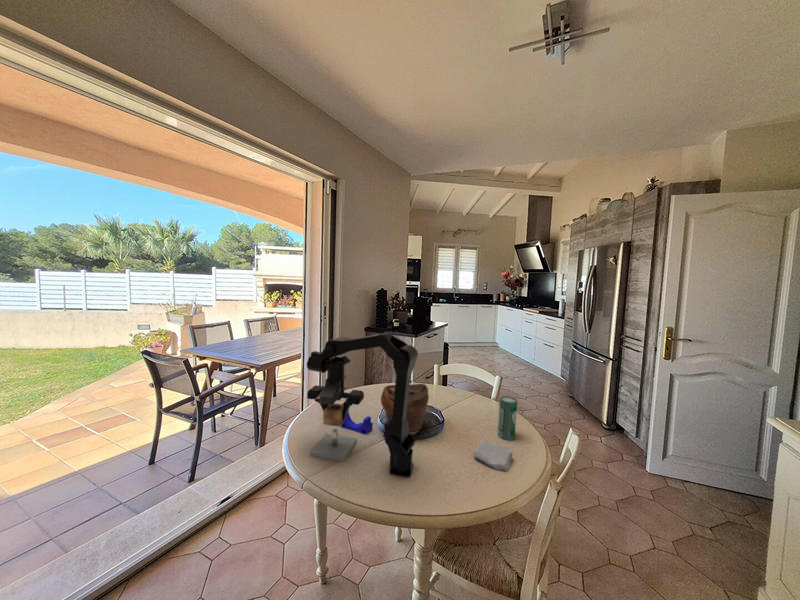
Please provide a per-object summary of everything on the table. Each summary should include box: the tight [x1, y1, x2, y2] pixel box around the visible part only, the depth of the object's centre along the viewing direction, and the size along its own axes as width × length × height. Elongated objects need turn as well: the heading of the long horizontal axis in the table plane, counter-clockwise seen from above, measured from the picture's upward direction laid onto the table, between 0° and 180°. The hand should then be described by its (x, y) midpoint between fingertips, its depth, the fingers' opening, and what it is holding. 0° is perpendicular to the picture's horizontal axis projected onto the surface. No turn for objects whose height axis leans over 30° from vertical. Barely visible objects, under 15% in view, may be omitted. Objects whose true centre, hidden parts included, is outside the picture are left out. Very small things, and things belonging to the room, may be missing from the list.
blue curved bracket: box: [340, 410, 374, 435], centre depth 120 cm, size 12×4×6 cm, turn 64°
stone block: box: [473, 440, 513, 472], centre depth 103 cm, size 12×5×10 cm
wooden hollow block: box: [322, 402, 347, 428], centre depth 105 cm, size 6×6×5 cm
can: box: [497, 395, 518, 441], centre depth 118 cm, size 6×6×15 cm
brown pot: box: [380, 383, 430, 437], centre depth 121 cm, size 18×20×18 cm
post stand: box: [310, 427, 358, 463], centre depth 105 cm, size 12×12×7 cm
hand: (335, 418), depth 105 cm, fingers closed on wooden hollow block, 6 cm apart
